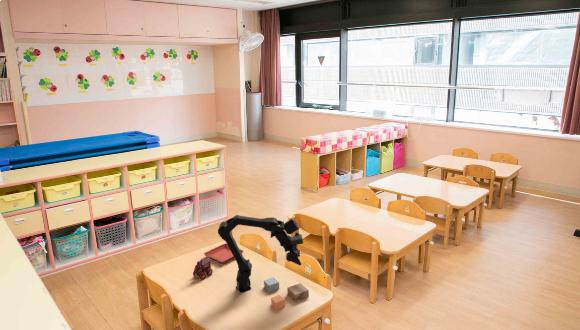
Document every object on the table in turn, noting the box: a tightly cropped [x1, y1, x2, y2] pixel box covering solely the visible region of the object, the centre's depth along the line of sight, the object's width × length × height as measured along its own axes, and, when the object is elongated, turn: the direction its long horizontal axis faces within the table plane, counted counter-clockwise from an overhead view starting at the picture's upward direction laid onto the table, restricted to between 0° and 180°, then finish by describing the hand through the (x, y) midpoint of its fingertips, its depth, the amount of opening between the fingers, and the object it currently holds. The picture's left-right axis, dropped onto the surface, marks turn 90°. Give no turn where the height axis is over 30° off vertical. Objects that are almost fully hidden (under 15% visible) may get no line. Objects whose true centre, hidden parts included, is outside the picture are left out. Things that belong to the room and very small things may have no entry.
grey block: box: [263, 277, 280, 293], centre depth 220 cm, size 6×6×4 cm
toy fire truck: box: [192, 256, 214, 281], centre depth 234 cm, size 7×12×10 cm, turn 143°
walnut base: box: [286, 283, 310, 302], centre depth 213 cm, size 8×8×4 cm
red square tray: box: [203, 242, 244, 265], centre depth 256 cm, size 18×18×3 cm
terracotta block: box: [270, 294, 286, 311], centre depth 205 cm, size 5×5×4 cm
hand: (300, 260), depth 218 cm, fingers open, 9 cm apart
